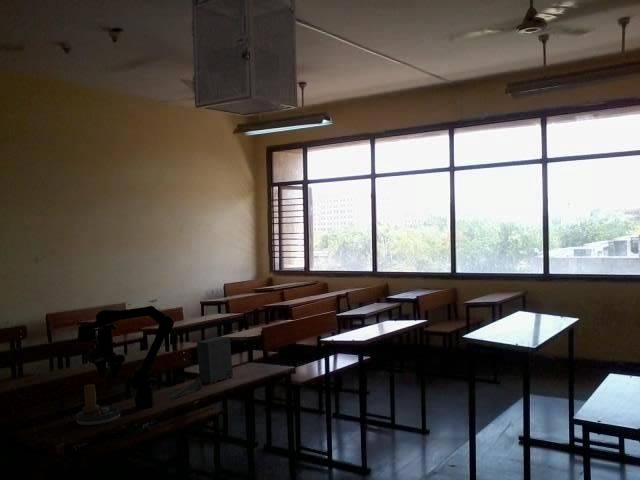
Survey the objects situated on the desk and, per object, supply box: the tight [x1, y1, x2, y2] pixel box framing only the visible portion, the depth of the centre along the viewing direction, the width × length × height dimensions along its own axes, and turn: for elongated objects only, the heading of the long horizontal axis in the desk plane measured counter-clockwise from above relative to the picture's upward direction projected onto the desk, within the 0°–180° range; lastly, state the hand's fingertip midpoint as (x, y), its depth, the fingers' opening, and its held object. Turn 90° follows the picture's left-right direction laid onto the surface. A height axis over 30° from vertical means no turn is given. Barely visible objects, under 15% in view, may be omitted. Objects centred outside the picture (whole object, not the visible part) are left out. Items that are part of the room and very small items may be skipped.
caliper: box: [167, 376, 202, 401], centre depth 268 cm, size 20×1×6 cm, turn 150°
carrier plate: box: [75, 405, 121, 426], centre depth 237 cm, size 16×16×3 cm
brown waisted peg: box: [82, 383, 100, 415], centre depth 235 cm, size 6×6×12 cm
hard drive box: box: [196, 336, 234, 385], centre depth 295 cm, size 16×8×20 cm, turn 143°
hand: (107, 378), depth 249 cm, fingers open, 9 cm apart
